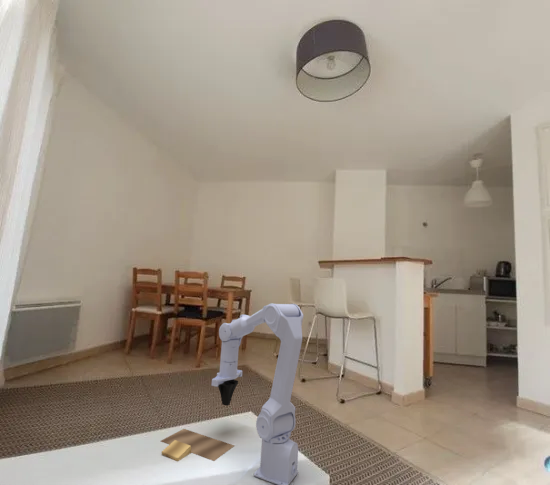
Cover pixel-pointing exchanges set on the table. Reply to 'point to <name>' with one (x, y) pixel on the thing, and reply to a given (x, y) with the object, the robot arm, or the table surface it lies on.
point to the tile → (177, 450)
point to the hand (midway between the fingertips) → (225, 404)
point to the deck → (200, 444)
